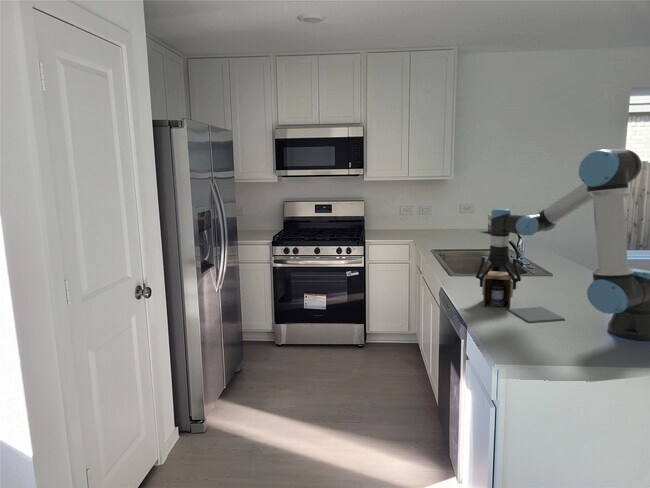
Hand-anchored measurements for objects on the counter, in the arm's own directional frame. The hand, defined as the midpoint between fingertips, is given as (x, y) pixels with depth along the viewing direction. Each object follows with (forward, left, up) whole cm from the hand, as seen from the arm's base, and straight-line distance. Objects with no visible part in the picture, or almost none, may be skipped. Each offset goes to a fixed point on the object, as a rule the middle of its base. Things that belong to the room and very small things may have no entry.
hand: (497, 295), depth 196 cm
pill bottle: (0, 0, -4) cm, 4 cm away
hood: (0, 0, -4) cm, 4 cm away
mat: (-16, -8, -4) cm, 18 cm away
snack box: (+178, -95, -4) cm, 202 cm away
